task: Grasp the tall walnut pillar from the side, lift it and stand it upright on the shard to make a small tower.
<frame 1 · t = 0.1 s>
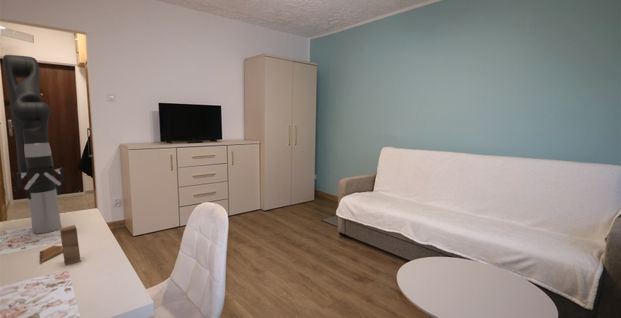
hand: (44, 196, 120), 17 cm above the table, tool pointing down, fingers open, 8 cm apart
pillar: (72, 261, 105), on the table
shard: (54, 256, 110), on the table
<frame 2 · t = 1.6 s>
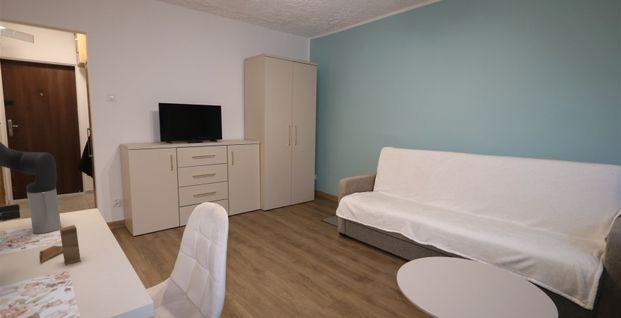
hand: (19, 210, 94), 20 cm above the table, tool horizontal, fingers open, 8 cm apart
nothing on the table moved.
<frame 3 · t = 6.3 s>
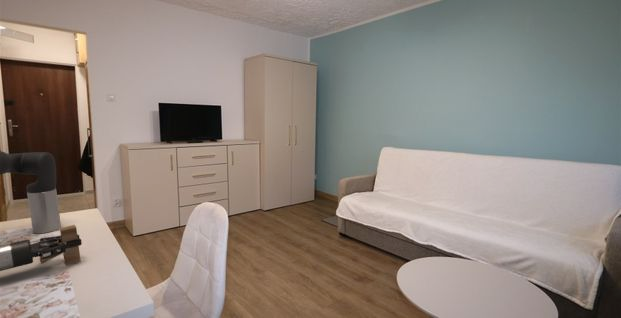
hand: (79, 239, 105), 7 cm above the table, tool horizontal, fingers closed on pillar, 4 cm apart
pillar: (72, 261, 105), on the table, touching gripper
everything else where it was.
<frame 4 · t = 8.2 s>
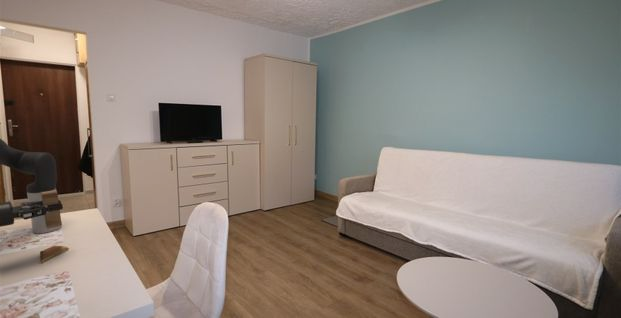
hand: (61, 204, 109), 18 cm above the table, tool horizontal, fingers closed on pillar, 4 cm apart
pillar: (53, 225, 108), point 11 cm above the table, touching gripper
everything else where it was.
when the fingers open (10 cm above the table, at t = 10.2 s): pillar drops 2 cm, point 1 cm above the table.
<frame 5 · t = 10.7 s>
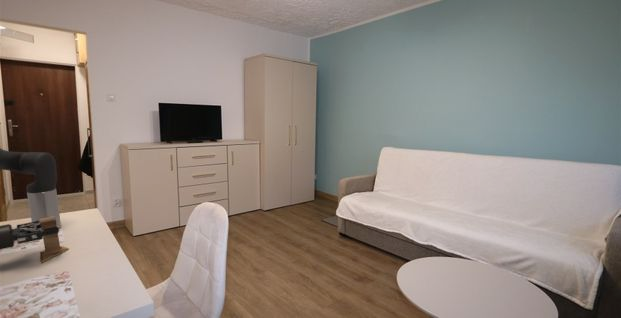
hand: (57, 226, 109), 10 cm above the table, tool horizontal, fingers open, 8 cm apart
pillar: (53, 250, 109), point 1 cm above the table
everything else where it was.
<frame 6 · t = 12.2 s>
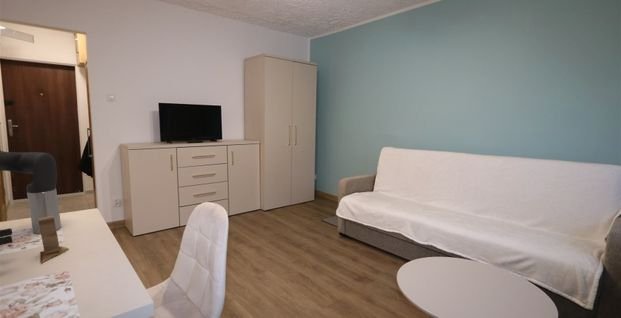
hand: (12, 235, 101), 10 cm above the table, tool horizontal, fingers open, 8 cm apart
pillar: (52, 250, 110), point 1 cm above the table, touching shard
shard: (55, 256, 110), on the table, touching pillar
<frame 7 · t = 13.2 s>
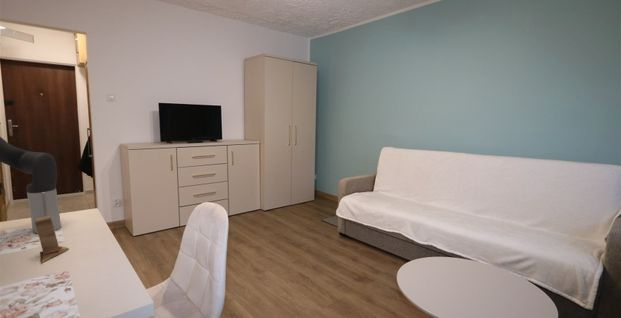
hand: (2, 188, 99), 26 cm above the table, tool horizontal, fingers open, 8 cm apart
pillar: (51, 250, 110), point 1 cm above the table
shard: (55, 256, 110), on the table
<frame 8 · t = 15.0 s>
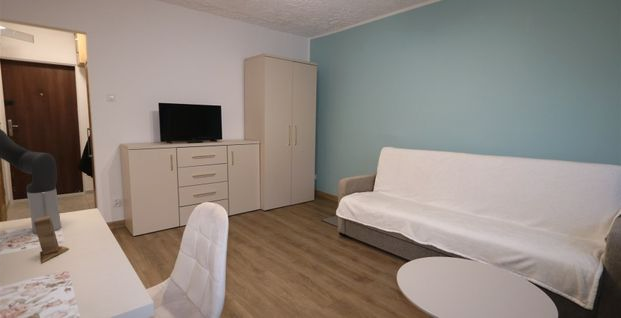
pillar: (51, 250, 110), point 1 cm above the table, tilted 5°, touching shard
shard: (55, 256, 110), on the table, touching pillar
at the end: pillar inside the target area on the shard (1.2 cm from its centre), point 2.2 cm above the shard's base; pillar tilted 5°; the gripper is holding nothing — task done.
